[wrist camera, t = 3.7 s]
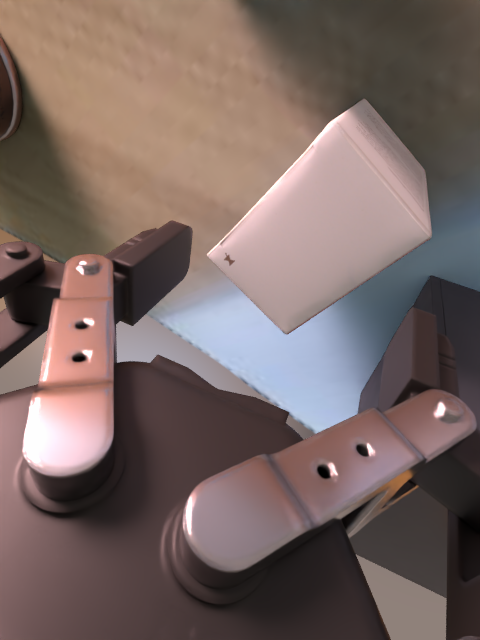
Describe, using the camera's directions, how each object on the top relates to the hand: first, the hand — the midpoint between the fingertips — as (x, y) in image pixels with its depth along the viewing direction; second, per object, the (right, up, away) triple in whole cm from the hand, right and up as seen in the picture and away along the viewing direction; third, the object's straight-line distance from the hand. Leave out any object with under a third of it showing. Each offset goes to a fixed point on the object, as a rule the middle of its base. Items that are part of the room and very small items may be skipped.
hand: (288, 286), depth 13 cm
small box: (+5, +7, +10) cm, 14 cm away
